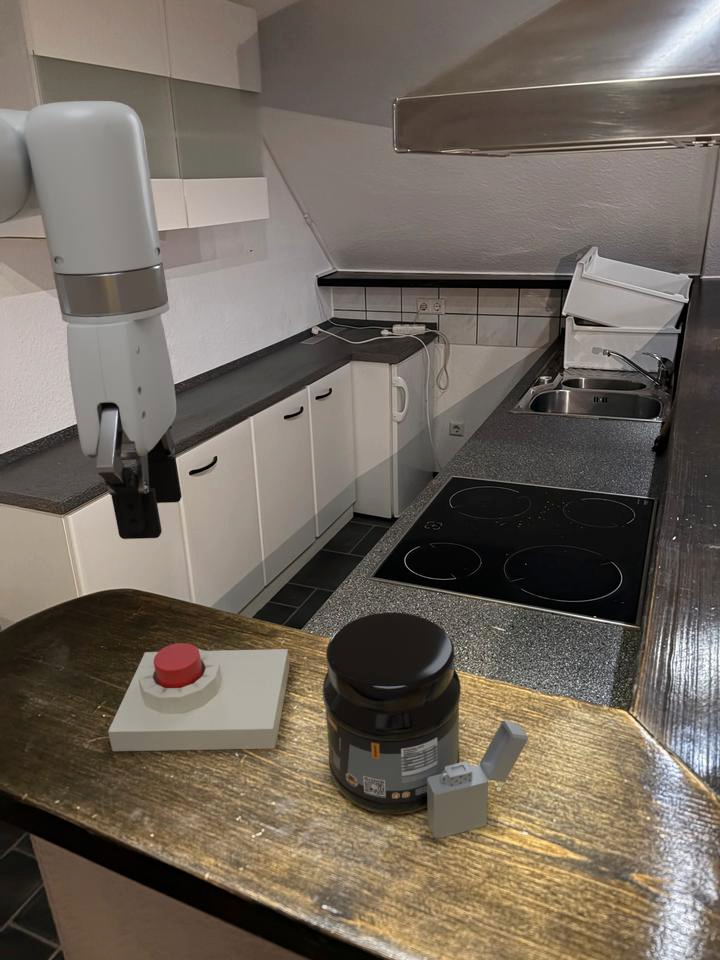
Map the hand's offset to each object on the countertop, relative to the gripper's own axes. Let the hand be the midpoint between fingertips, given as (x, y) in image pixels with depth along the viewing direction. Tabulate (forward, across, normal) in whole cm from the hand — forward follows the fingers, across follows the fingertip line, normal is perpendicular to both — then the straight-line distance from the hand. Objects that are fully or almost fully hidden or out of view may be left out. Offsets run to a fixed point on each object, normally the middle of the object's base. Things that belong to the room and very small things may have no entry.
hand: (152, 516), depth 62 cm
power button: (+16, 0, 0) cm, 16 cm away
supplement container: (+20, +8, +19) cm, 29 cm away
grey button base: (+20, 0, +2) cm, 20 cm away
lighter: (+20, +13, +25) cm, 34 cm away
